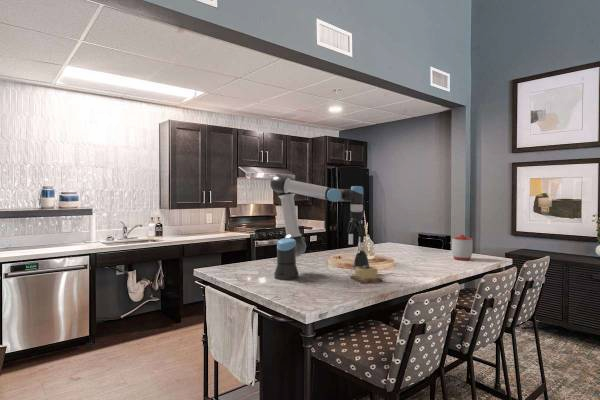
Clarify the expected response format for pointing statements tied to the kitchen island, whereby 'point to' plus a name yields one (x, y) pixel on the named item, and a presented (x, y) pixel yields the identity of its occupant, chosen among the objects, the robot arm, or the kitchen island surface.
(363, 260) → the black tall oval piece
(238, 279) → the kitchen island surface
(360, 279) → the post stand
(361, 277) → the brass collar
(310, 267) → the kitchen island surface
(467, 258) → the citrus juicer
